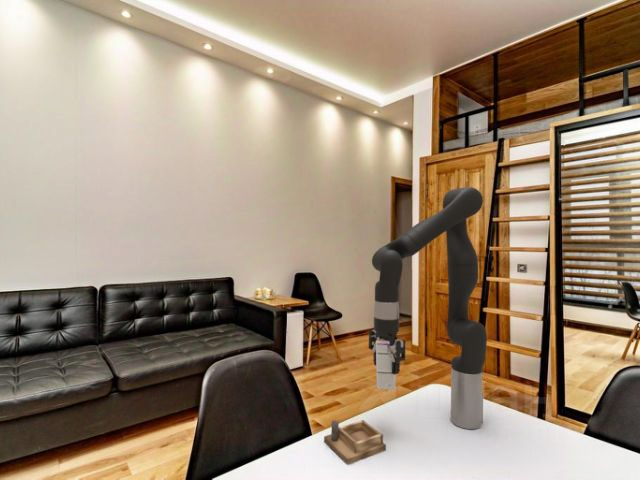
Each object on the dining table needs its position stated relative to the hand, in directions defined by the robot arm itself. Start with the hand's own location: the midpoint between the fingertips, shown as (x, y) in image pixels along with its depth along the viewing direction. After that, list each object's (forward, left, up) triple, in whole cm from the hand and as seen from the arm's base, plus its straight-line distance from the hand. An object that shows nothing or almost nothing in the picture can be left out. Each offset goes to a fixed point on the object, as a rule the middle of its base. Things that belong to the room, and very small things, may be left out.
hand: (386, 369), depth 110 cm
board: (+12, +1, -20) cm, 23 cm away
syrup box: (0, 0, -5) cm, 5 cm away
